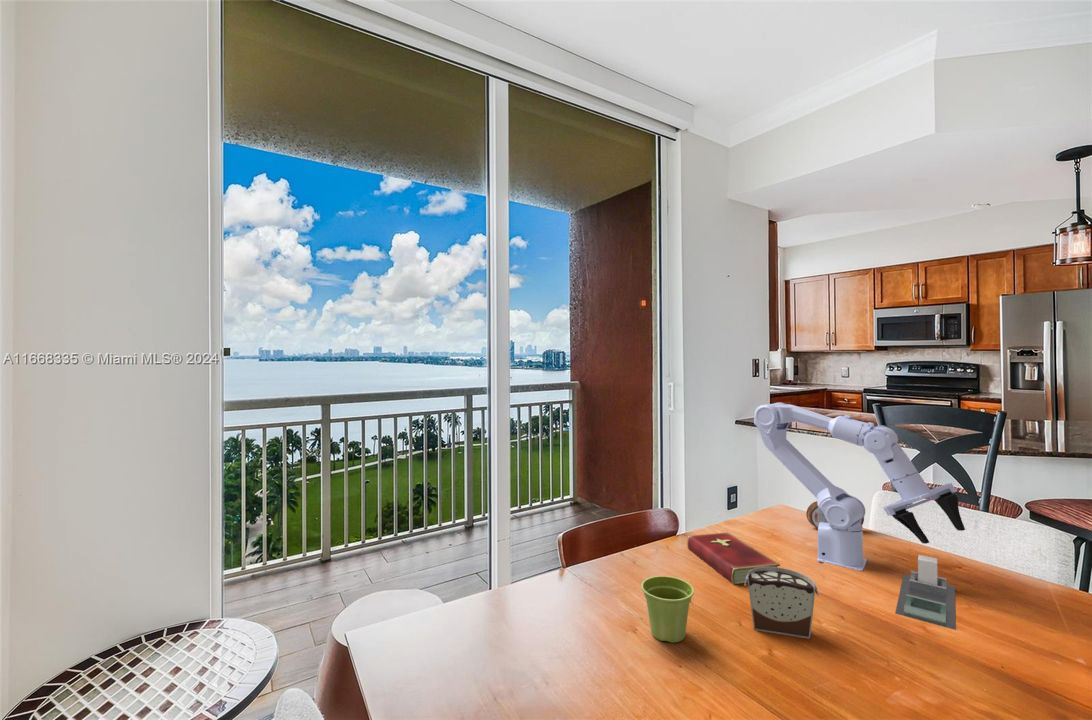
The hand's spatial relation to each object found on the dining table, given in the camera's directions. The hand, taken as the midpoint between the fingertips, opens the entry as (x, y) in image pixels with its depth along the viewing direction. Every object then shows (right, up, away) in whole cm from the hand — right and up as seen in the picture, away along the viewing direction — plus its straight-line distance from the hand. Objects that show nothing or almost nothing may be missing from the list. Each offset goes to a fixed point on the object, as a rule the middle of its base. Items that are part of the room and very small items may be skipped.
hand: (943, 536), depth 103 cm
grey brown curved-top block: (-42, -12, -13) cm, 45 cm away
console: (-7, -12, -4) cm, 14 cm away
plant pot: (-64, -13, -15) cm, 67 cm away
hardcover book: (-40, -13, +15) cm, 45 cm away
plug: (-3, -11, +1) cm, 12 cm away
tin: (-1, -12, +37) cm, 39 cm away
